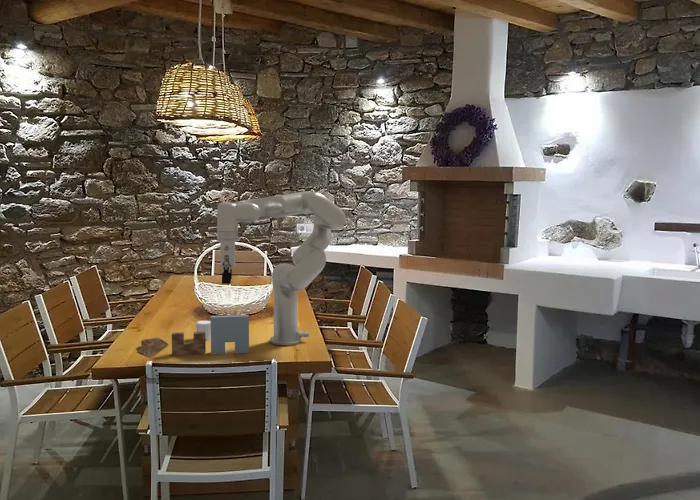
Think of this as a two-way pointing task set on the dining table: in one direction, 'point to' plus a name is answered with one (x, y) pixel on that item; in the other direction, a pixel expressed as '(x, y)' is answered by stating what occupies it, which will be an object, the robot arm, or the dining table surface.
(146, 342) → the wooden fragment
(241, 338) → the blue-grey notched panel
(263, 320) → the dining table surface
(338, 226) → the robot arm
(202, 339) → the wood grain block
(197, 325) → the white topped beige cylinder
